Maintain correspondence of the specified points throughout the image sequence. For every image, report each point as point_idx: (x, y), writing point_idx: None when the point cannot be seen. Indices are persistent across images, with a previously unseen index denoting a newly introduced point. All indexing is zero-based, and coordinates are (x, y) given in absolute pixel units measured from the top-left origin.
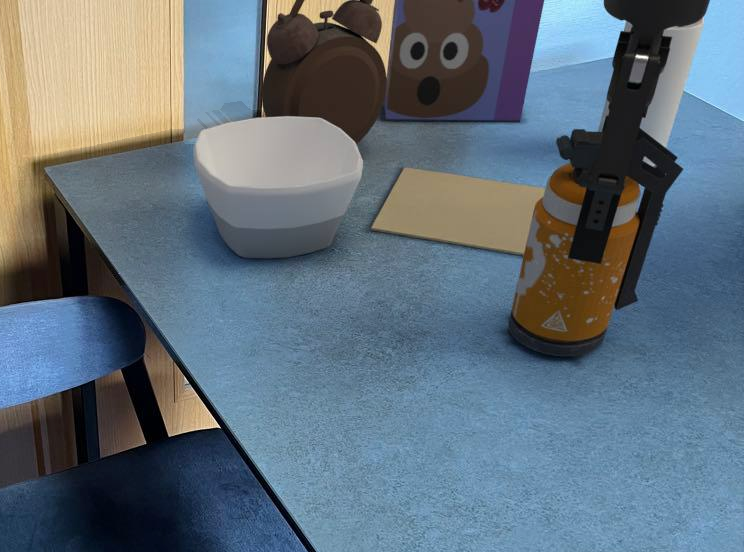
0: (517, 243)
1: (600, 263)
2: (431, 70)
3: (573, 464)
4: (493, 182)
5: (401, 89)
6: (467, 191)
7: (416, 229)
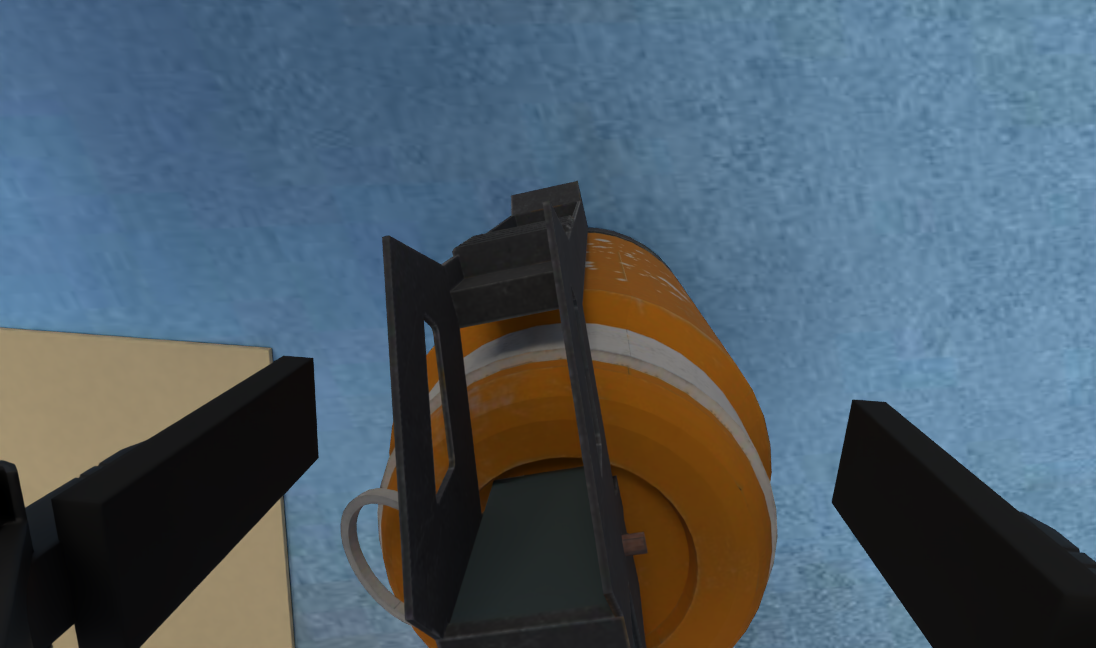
0: None
1: (884, 403)
2: None
3: (1056, 262)
4: None
5: None
6: None
7: (266, 620)
